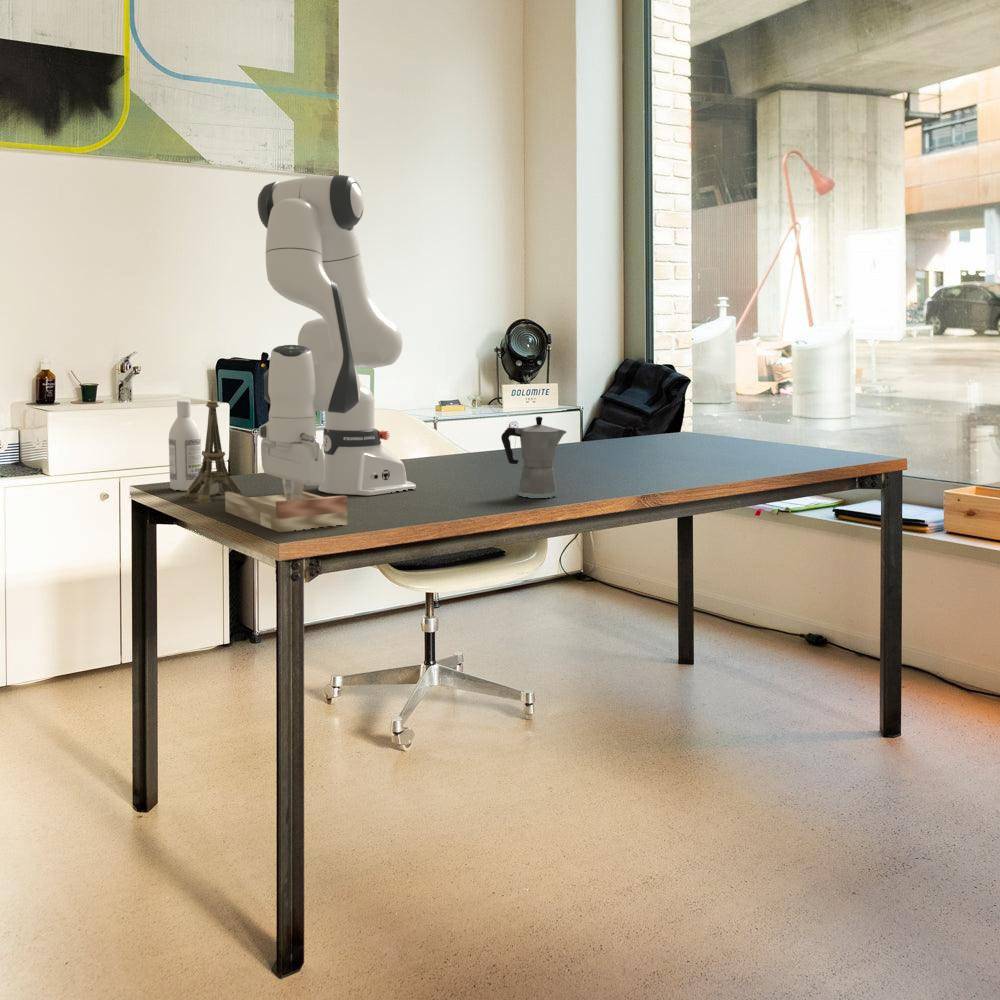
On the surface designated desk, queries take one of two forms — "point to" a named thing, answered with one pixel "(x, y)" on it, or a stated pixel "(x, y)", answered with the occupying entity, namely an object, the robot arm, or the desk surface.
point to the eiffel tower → (209, 455)
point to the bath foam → (184, 449)
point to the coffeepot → (535, 456)
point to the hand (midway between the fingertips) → (293, 502)
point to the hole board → (289, 510)
